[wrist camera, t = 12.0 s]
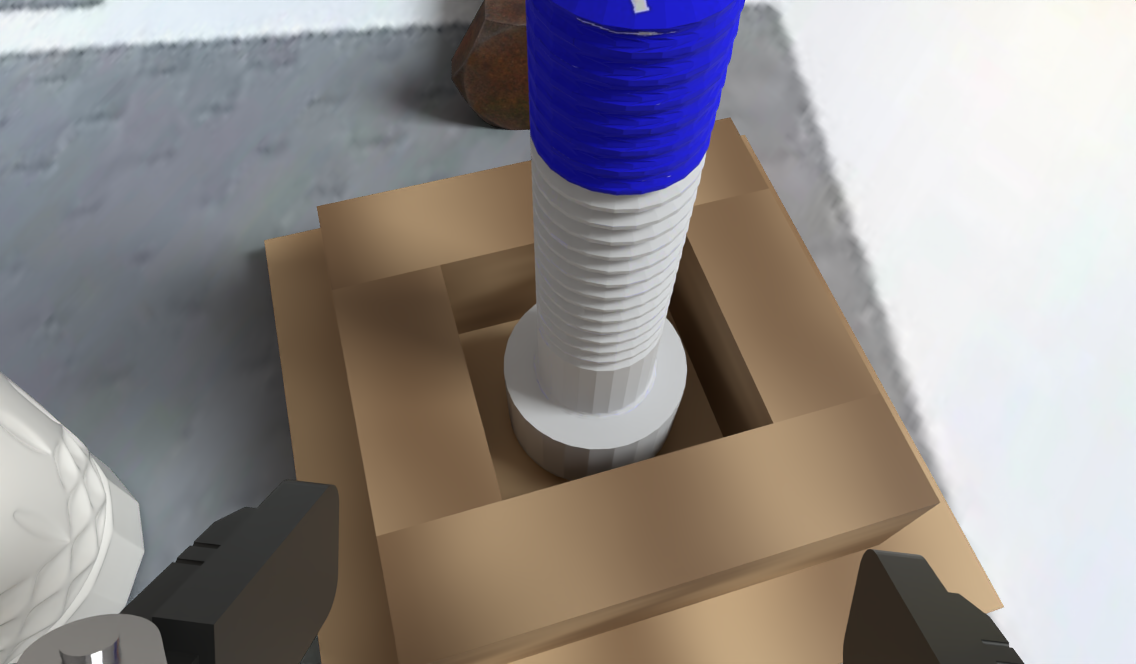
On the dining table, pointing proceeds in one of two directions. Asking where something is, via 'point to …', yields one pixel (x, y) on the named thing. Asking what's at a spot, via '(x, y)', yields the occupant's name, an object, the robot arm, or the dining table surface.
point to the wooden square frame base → (604, 500)
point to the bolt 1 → (496, 65)
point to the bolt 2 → (611, 221)
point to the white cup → (58, 527)
